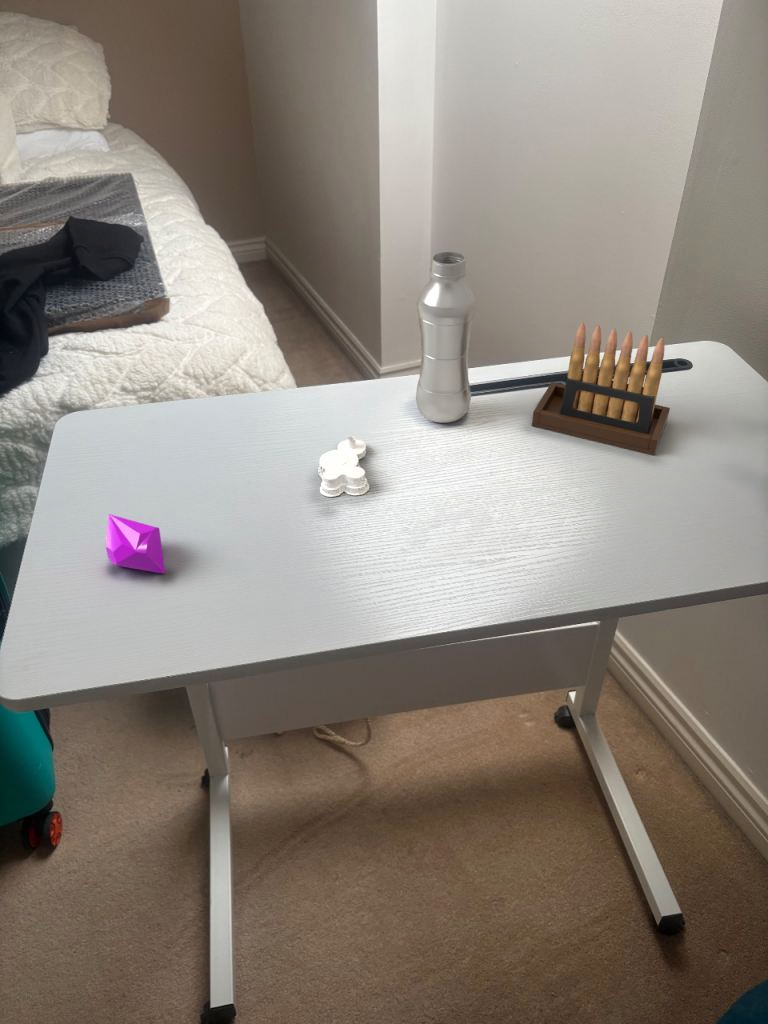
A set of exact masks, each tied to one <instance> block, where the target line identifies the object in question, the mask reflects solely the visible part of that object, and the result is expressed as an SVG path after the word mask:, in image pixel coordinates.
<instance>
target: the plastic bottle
mask: <svg viewBox="0 0 768 1024" xmlns="http://www.w3.org/2000/svg"><path fill="white" fill-rule="evenodd" d="M430 262H431V264H430V269H429V275H430V277H431V279H429V281H428V282H427V283H426V285H425V286H424V287H423V289H422V290H421V291H420V293H419V295H418V299H417V301H416V307H417V308H416V310H417V311H416V312H417V317H418V324H419V332H420V347H421V360H420V368H419V379H418V381H417V385H416V391H415V402H416V407H417V410H418V411H419V413H420V414H421V415H422V417H424V418H425V419H426V420H428V421H431V422H434V423H441V424H446V423H454V422H456V421H459V420H460V419H462V418H463V417H465V415H466V414H467V413H468V412H469V409H470V404H471V401H472V392H471V391H472V390H471V384H470V380H469V358H468V357H469V347H470V340H471V339H470V338H471V332H472V328H473V324H474V318H475V313H476V307H477V306H476V305H477V303H476V299H475V295H474V293H473V291H472V290H471V288H470V286H469V285H468V283H467V282H466V281H465V279H464V278H465V277H466V275H467V268H466V265H467V257H466V256H465V255H464V254H462V253H461V252H460V253H459V252H455V251H440V252H437V253H435V254H433V255H432V256H431V261H430Z"/></svg>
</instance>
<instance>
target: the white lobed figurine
mask: <svg viewBox="0 0 768 1024" xmlns="http://www.w3.org/2000/svg"><path fill="white" fill-rule="evenodd" d="M366 454H367V445H366V443H365V442H364V441H363V440H361V439H357V438H356V437H355V436H353V435H351V436H348V437H347V438H346V439H344V440H342V441H341V442H339V443H338V444H337V449H331V450H329V451H326V452H325V453H323V454H322V455H321V456H320V457H319V460H318V461H319V465H318V467H317V473H318V475H319V477H320V479H321V483H320V485H321V486H320V488H319V492H320V494H321V495H322V496H324V497H327V498H334V497H338V496H340V495H342V494H343V493H345V494H347V495H349V496H361V495H364V494H366V493H367V492H369V490H370V483H369V482H368V479H367V477H366V471H365V469H363V468H362V467H361V465H360V463H359V460H362V459H363V458H364V457H366ZM326 503H327V504H328V503H329V501H326ZM326 509H329V507H326Z"/></svg>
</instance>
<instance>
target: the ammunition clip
mask: <svg viewBox="0 0 768 1024" xmlns="http://www.w3.org/2000/svg"><path fill="white" fill-rule="evenodd" d="M586 334H587V331H586V325H585V323H584V322H581V323H580V325H579V326H578V328H577V331H576V335H575V337H574V343H573V348H572V352H571V354H570V358H569V364H568V371H567V377H566V381H565V384H564V385H565V390H564V394H563V399H562V404H561V409H560V413H559V414H561V415H566V416H570V417H574V418H579V419H583V420H587V421H592V422H596V423H600V424H605V425H609V426H613V427H618V428H622V429H626V430H631V431H635V432H639V433H644V434H649V432H650V429H651V426H652V420H653V414H654V408H655V405H656V402H657V398H658V392H659V388H660V385H661V380H662V375H663V374H662V372H663V363H664V357H665V339H664V337H660V339H658V341H657V343H656V345H655V347H654V350H653V353H652V357H651V360H650V363H649V366H648V369H647V363H648V362H647V361H648V354H649V336H648V334H644V335H643V336H642V338H641V340H640V342H639V344H638V347H637V349H636V354H635V358H634V361H633V364H632V366H631V361H632V353H633V343H634V341H633V340H634V339H633V332H632V331H628V332H627V334H626V336H625V338H624V340H623V342H622V346H621V349H620V353H619V357H618V360H617V362H616V354H617V346H618V333H617V329H616V328H612V330H611V332H609V335H608V338H607V341H606V344H605V349H604V352H603V356H602V359H601V356H600V355H601V345H602V330H601V326H600V325H597V326H596V327H595V329H594V331H593V333H592V335H591V339H590V344H589V347H588V352H587V355H586V357H585V348H586V340H587V339H586V338H587V335H586ZM579 390H580V396H579ZM594 393H595V398H594ZM609 396H610V399H609ZM578 397H579V402H578ZM593 398H594V403H593ZM624 400H625V402H624ZM608 401H609V404H608ZM592 404H593V405H592ZM623 404H624V406H623ZM607 407H608V409H607ZM638 407H639V409H638ZM622 409H623V411H622ZM637 411H638V414H637Z"/></svg>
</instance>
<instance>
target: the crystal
mask: <svg viewBox="0 0 768 1024" xmlns="http://www.w3.org/2000/svg"><path fill="white" fill-rule="evenodd" d="M105 538H106V539H105V549H106V555H107V558H108V559H109V561H110V562H111V563H112V564H113V565H114V566H117V567H123V568H129V569H135V570H141V571H147V572H151V573H157V574H163V575H166V567H165V560H164V554H163V553H164V552H163V547H162V546H163V545H162V538H161V530H160V527H158V526H154V525H151V524H146V523H143V522H139V521H137V520H132V519H128V518H125V517H121V516H117V515H114V514H110V513H108V517H107V527H106V537H105Z"/></svg>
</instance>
